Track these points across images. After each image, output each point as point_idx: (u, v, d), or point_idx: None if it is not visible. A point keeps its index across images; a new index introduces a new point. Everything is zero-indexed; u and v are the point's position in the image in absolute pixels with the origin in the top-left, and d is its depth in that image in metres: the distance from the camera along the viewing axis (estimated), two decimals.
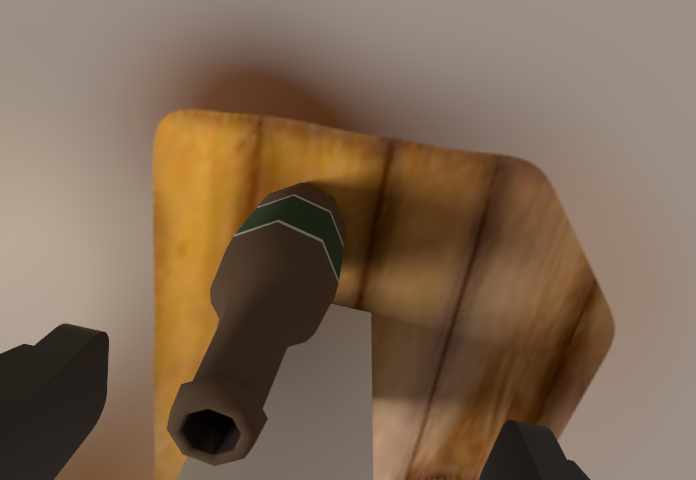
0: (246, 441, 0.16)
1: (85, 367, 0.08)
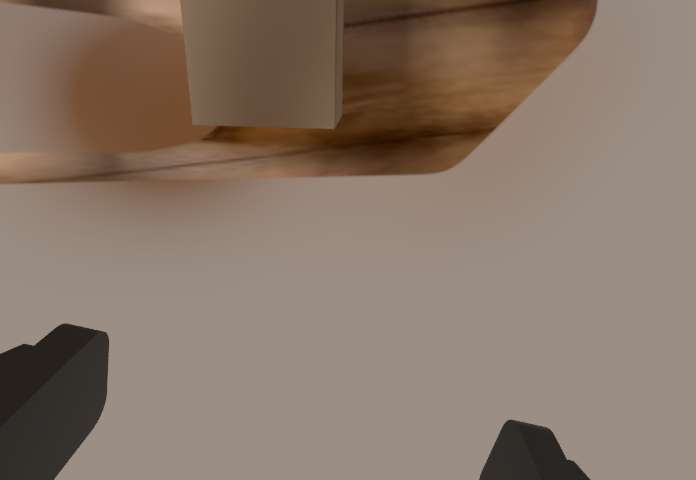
0: None
1: (85, 367, 0.08)
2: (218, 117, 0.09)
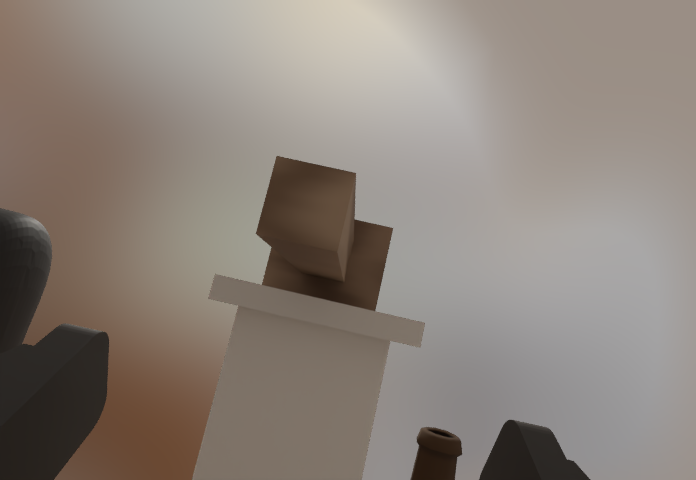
0: (446, 438, 0.34)
1: (85, 367, 0.08)
2: None
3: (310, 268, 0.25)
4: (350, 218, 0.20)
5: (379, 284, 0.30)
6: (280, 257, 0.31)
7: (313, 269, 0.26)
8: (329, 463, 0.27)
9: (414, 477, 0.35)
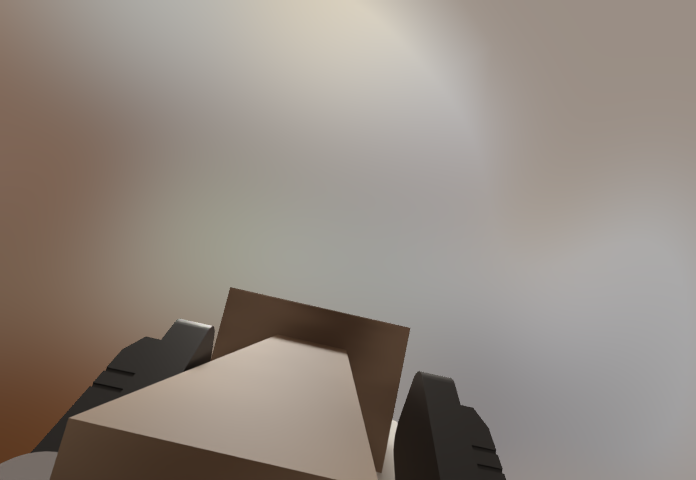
0: None
1: (201, 357, 0.09)
2: (133, 429, 0.04)
3: None
4: None
5: (388, 424, 0.18)
6: None
7: None
8: None
9: None
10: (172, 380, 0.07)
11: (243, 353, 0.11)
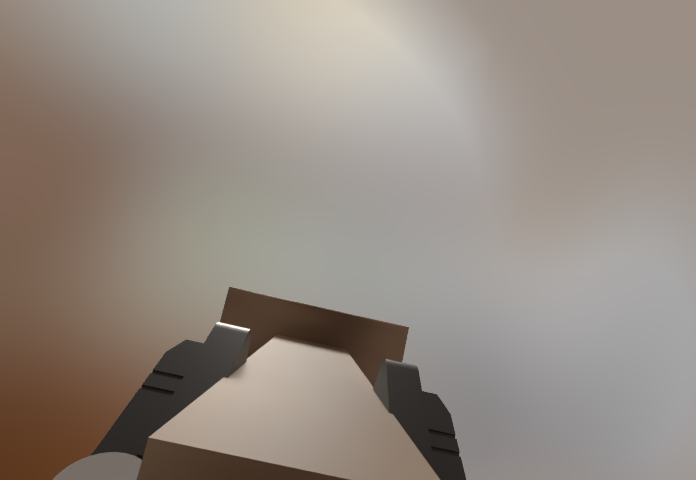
0: None
1: (241, 360, 0.09)
2: (210, 447, 0.04)
3: None
4: None
5: None
6: None
7: None
8: None
9: None
10: (215, 390, 0.07)
11: (259, 357, 0.11)
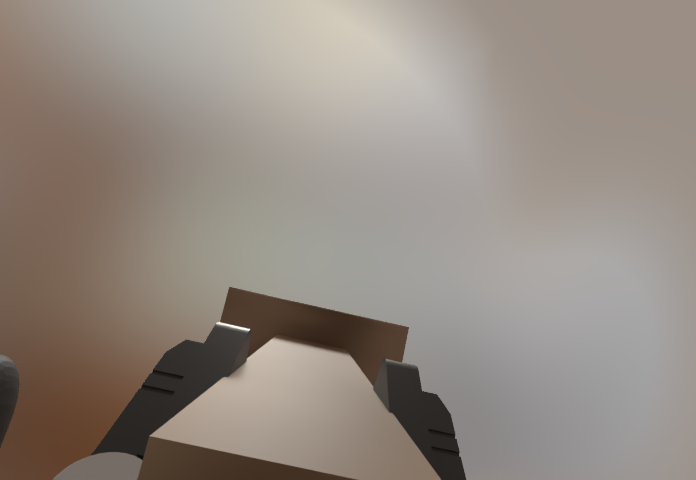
0: None
1: (241, 360, 0.09)
2: (210, 445, 0.04)
3: None
4: None
5: None
6: None
7: None
8: None
9: None
10: (215, 390, 0.07)
11: (259, 356, 0.11)
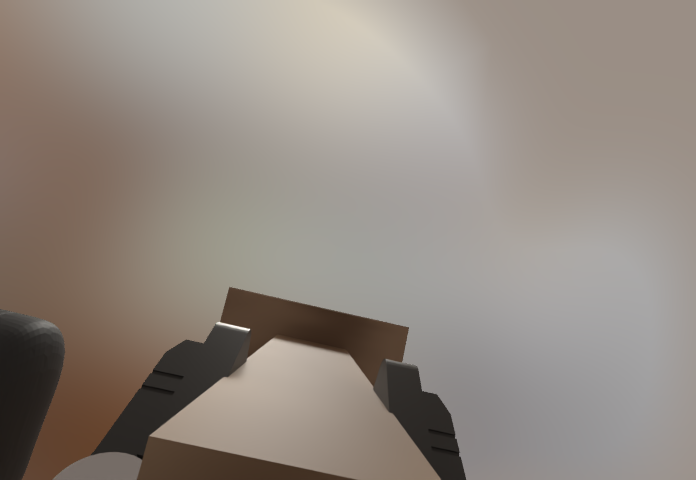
0: None
1: (241, 360, 0.09)
2: (210, 445, 0.04)
3: None
4: None
5: None
6: None
7: None
8: None
9: None
10: (215, 390, 0.07)
11: (259, 357, 0.11)
